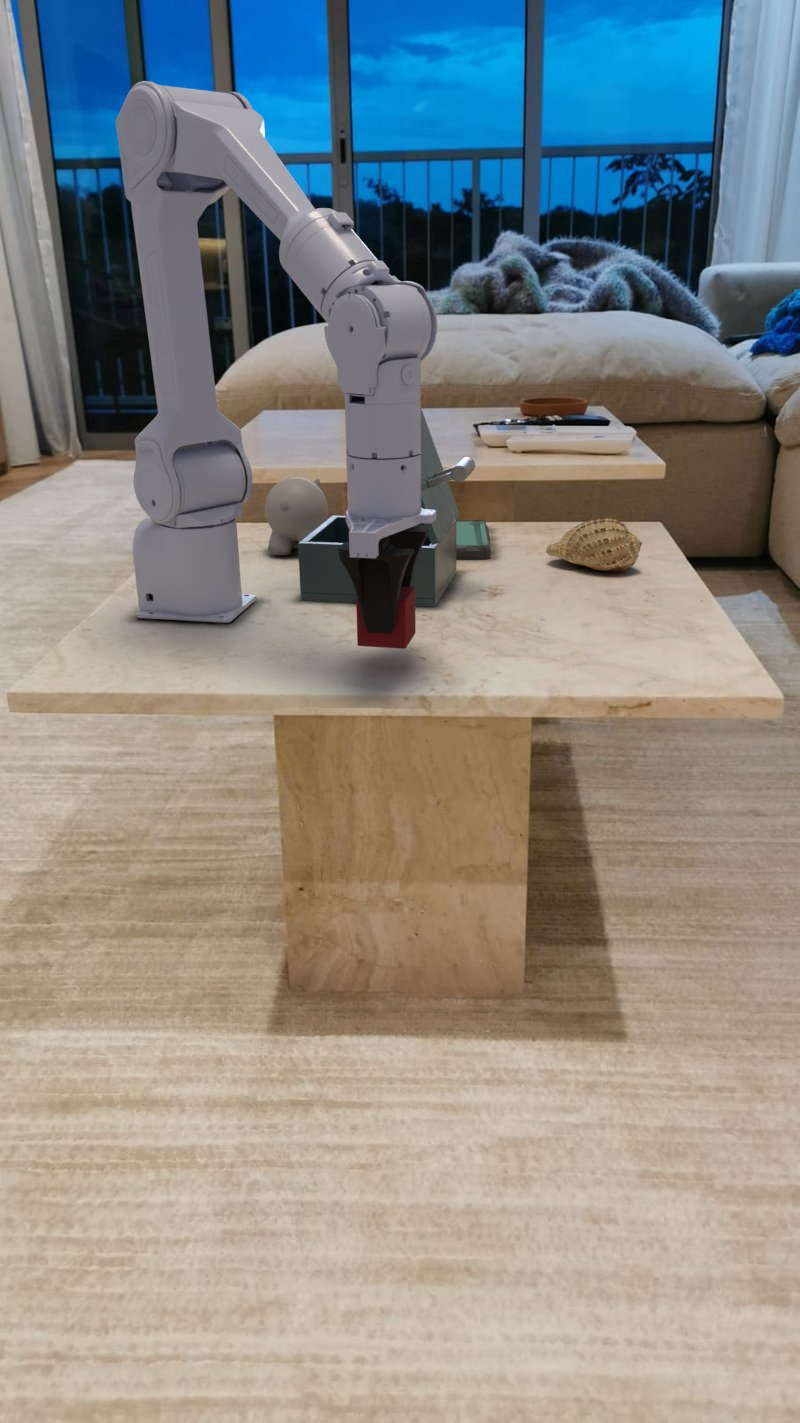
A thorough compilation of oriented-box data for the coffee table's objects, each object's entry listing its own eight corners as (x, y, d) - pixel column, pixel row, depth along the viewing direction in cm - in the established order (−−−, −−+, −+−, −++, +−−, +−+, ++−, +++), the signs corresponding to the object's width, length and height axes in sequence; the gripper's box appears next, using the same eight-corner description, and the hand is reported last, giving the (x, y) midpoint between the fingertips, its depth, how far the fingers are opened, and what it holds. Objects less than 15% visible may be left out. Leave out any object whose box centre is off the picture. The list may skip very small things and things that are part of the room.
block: (357, 646, 86) (355, 598, 85) (369, 630, 90) (367, 584, 88) (405, 649, 86) (405, 601, 84) (415, 633, 89) (415, 586, 88)
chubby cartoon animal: (343, 535, 132) (340, 465, 129) (322, 560, 121) (318, 484, 118) (286, 534, 133) (282, 464, 130) (260, 558, 122) (255, 483, 119)
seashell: (560, 601, 115) (649, 565, 111) (537, 550, 113) (628, 512, 110) (564, 581, 122) (648, 546, 118) (543, 533, 120) (628, 497, 117)
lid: (376, 397, 97) (424, 378, 96) (405, 383, 109) (448, 365, 107) (431, 545, 102) (478, 529, 100) (453, 516, 113) (496, 501, 111)
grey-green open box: (300, 600, 107) (297, 543, 104) (334, 567, 118) (332, 515, 116) (435, 607, 104) (435, 548, 102) (456, 572, 115) (456, 519, 113)
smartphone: (426, 549, 120) (427, 518, 134) (427, 560, 121) (427, 528, 134) (492, 548, 120) (487, 518, 134) (492, 559, 120) (486, 528, 134)
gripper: (416, 471, 75) (417, 655, 80) (451, 439, 88) (450, 599, 93) (318, 469, 76) (325, 650, 81) (367, 438, 89) (370, 595, 94)
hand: (386, 623), depth 87 cm, fingers closed on block, 4 cm apart
